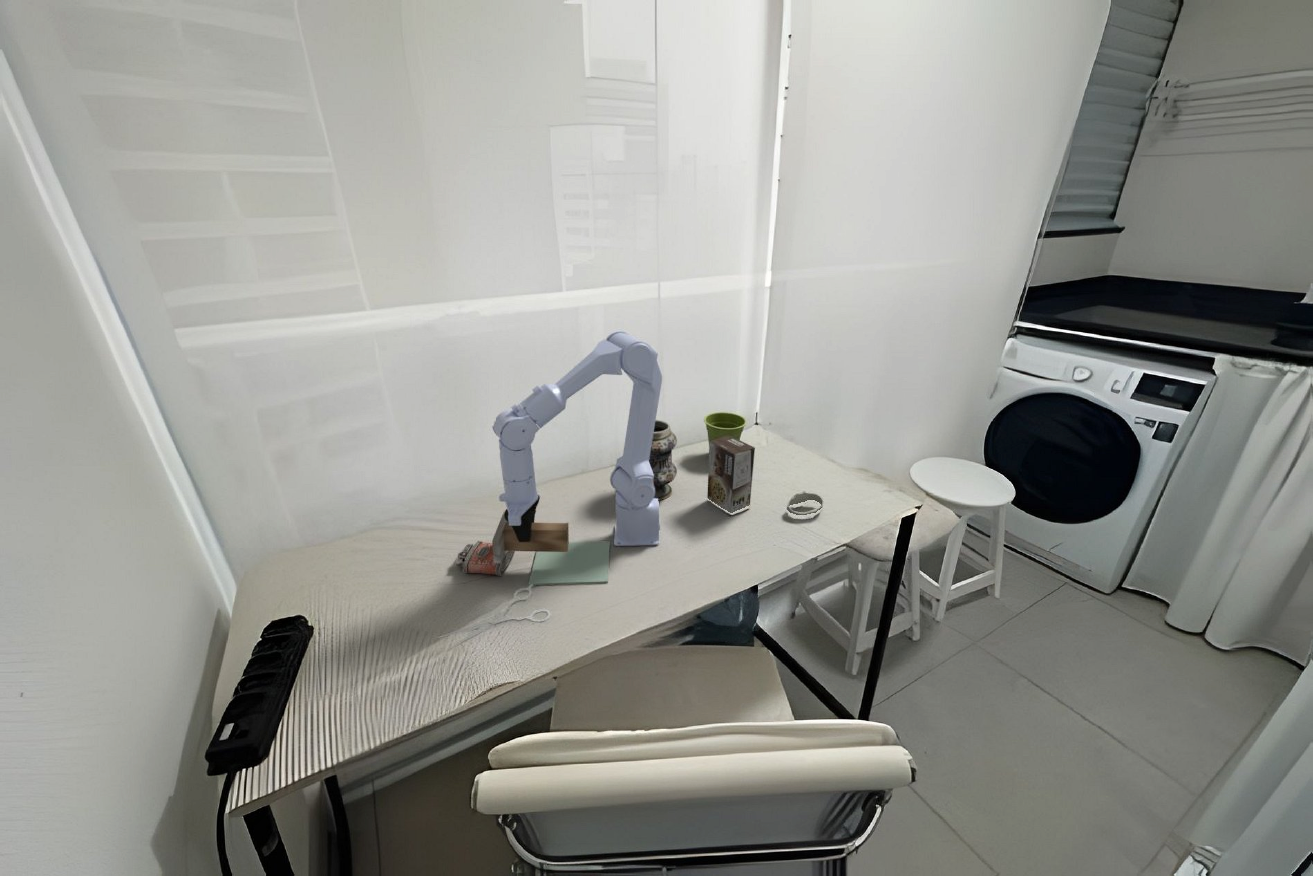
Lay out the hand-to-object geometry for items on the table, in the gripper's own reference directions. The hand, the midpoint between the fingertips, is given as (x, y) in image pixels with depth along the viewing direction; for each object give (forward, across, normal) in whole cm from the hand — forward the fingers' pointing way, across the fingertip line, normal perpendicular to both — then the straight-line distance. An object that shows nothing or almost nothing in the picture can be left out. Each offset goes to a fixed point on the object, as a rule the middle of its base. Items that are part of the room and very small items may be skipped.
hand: (526, 536), depth 103 cm
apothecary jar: (+8, -29, +26) cm, 40 cm away
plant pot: (+8, -48, +47) cm, 67 cm away
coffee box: (+8, -22, +44) cm, 50 cm away
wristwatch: (+8, -18, +61) cm, 64 cm away
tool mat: (+7, -1, +8) cm, 11 cm away
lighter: (+6, 0, -4) cm, 7 cm away
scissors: (+8, +14, -4) cm, 17 cm away
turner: (+3, 0, +1) cm, 3 cm away
